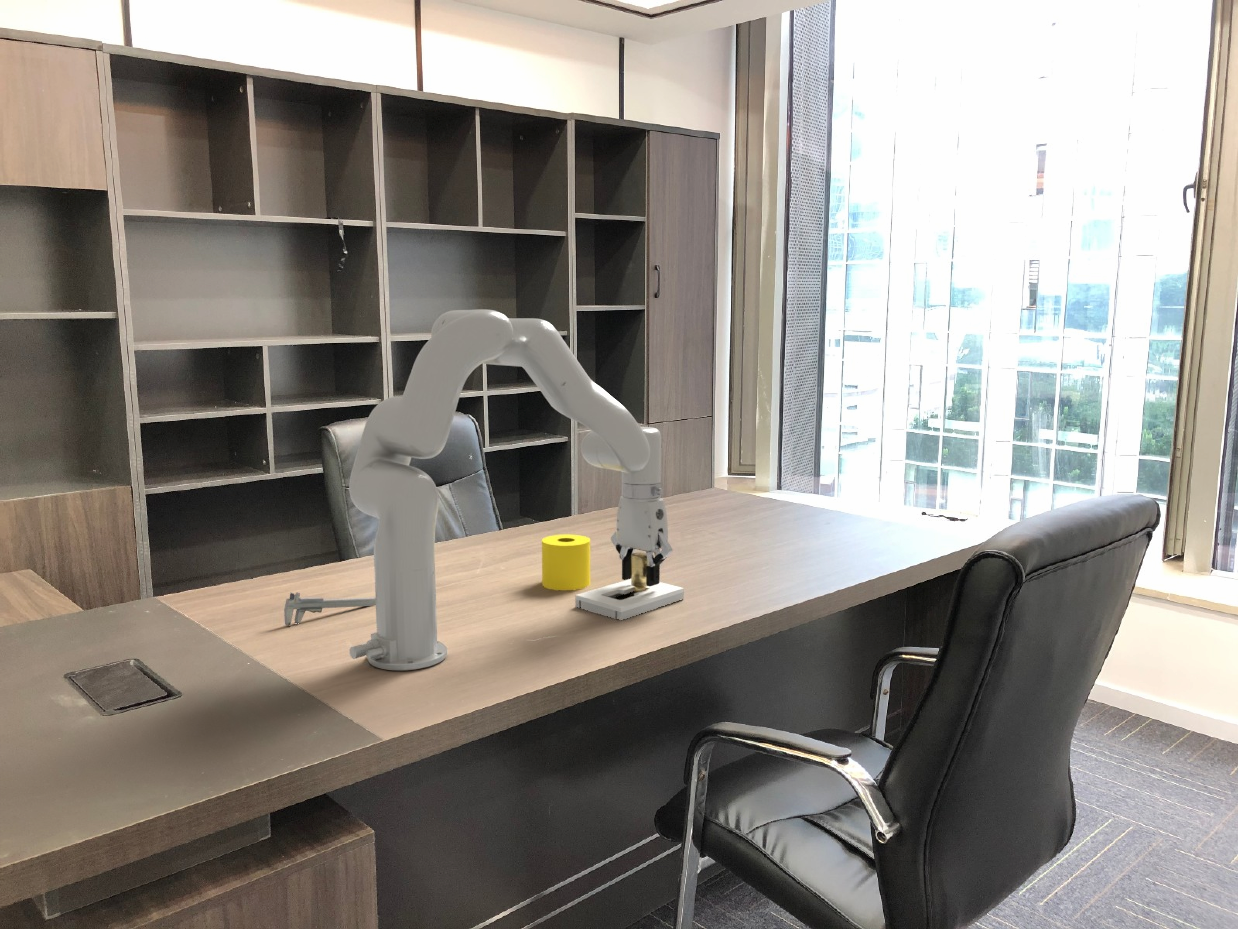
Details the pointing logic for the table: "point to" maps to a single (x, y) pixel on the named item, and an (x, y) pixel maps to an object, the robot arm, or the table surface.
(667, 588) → the keyhole plate
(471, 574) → the table surface
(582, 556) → the yellow toilet paper roll
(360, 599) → the caliper
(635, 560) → the brass peg
